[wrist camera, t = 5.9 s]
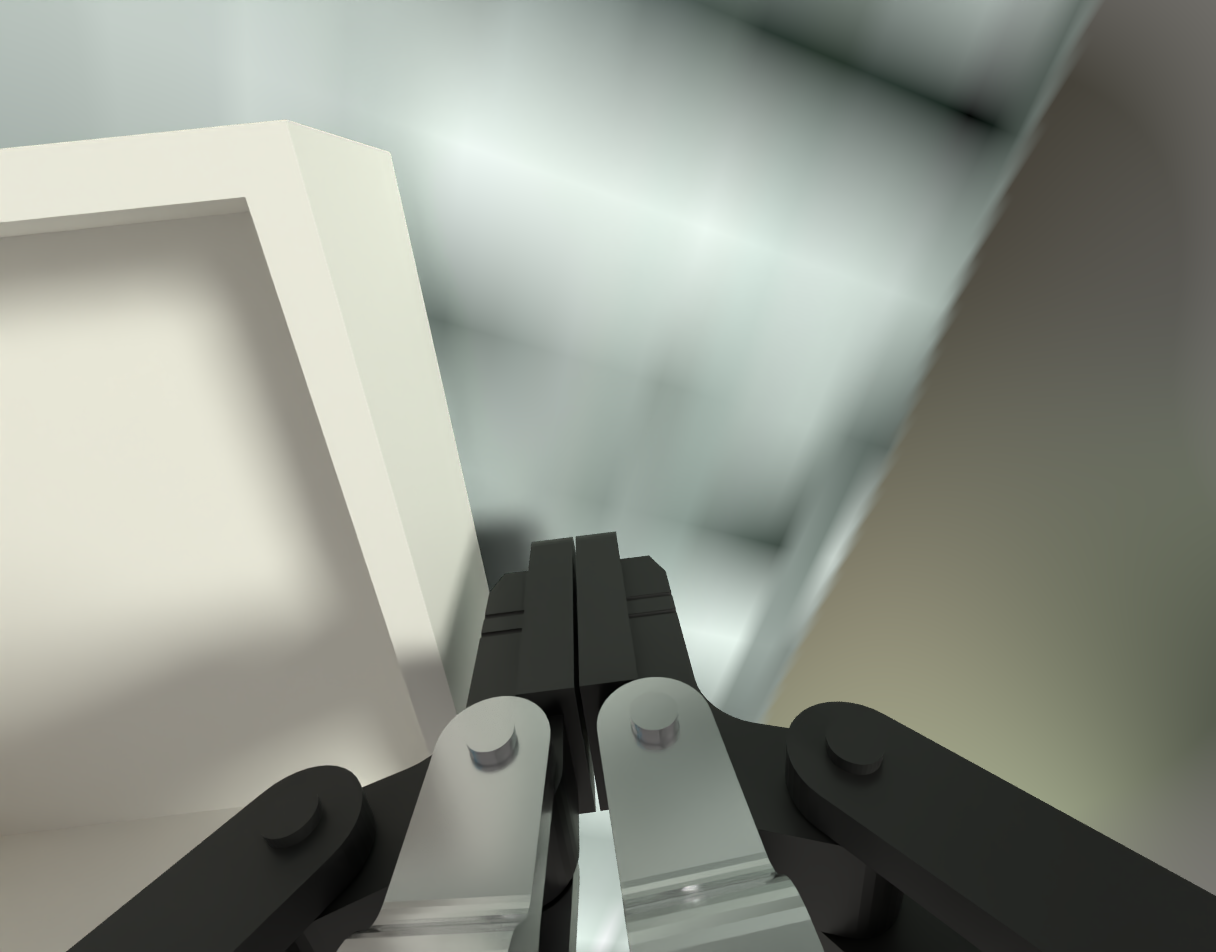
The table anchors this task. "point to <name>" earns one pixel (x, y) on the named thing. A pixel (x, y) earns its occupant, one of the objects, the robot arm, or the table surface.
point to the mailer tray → (211, 501)
